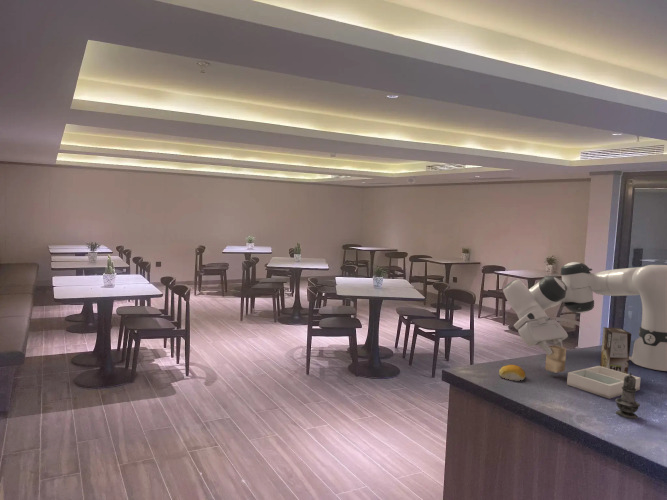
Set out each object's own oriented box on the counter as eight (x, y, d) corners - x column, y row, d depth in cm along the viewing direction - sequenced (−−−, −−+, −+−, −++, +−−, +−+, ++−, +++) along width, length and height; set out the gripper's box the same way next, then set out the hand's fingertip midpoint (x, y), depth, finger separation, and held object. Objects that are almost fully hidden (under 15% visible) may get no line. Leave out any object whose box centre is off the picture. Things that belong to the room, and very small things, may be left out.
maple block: (553, 367, 170) (555, 345, 170) (564, 371, 167) (566, 348, 166) (545, 369, 168) (547, 346, 167) (555, 372, 164) (557, 349, 164)
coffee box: (627, 379, 167) (632, 333, 166) (607, 377, 169) (611, 331, 168) (618, 371, 176) (622, 328, 175) (598, 369, 178) (602, 326, 177)
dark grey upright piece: (644, 418, 133) (648, 375, 133) (628, 420, 131) (632, 376, 131) (624, 409, 139) (628, 368, 138) (609, 411, 137) (613, 369, 136)
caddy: (597, 377, 169) (598, 365, 168) (639, 389, 157) (640, 377, 157) (566, 384, 159) (567, 372, 158) (608, 398, 147) (610, 385, 147)
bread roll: (525, 375, 167) (526, 364, 166) (524, 383, 159) (525, 371, 158) (499, 371, 170) (500, 360, 170) (497, 378, 162) (498, 366, 162)
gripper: (545, 322, 182) (568, 354, 174) (510, 326, 171) (532, 361, 163) (557, 312, 178) (581, 345, 170) (522, 316, 167) (545, 351, 159)
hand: (557, 353), depth 167 cm, fingers closed on maple block, 5 cm apart
